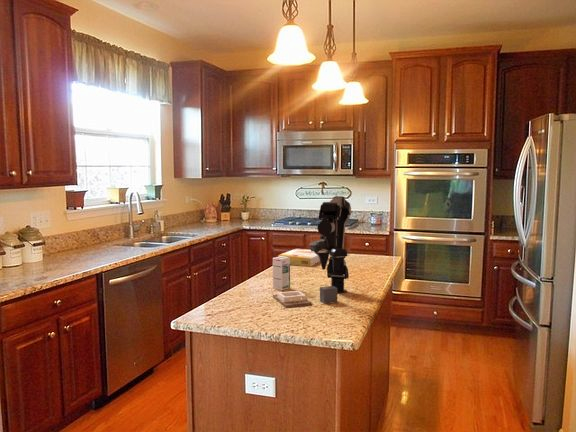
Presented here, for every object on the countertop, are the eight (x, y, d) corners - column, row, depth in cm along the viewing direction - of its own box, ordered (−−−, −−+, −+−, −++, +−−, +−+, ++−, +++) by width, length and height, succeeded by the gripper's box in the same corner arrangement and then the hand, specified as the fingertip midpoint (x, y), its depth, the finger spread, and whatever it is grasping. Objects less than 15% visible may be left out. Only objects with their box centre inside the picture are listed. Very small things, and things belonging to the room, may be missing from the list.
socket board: (272, 297, 198) (272, 290, 198) (296, 295, 202) (296, 288, 202) (285, 307, 183) (285, 300, 183) (311, 305, 187) (311, 297, 187)
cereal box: (277, 254, 268) (295, 247, 294) (277, 264, 269) (295, 256, 295) (310, 258, 261) (326, 250, 287) (310, 267, 261) (325, 259, 287)
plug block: (319, 301, 193) (320, 287, 192) (333, 299, 195) (333, 285, 194) (323, 303, 189) (324, 289, 188) (337, 302, 191) (337, 288, 190)
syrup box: (281, 290, 209) (281, 258, 208) (272, 288, 213) (272, 257, 212) (290, 288, 213) (290, 257, 212) (281, 286, 217) (281, 255, 216)
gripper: (301, 231, 194) (301, 268, 195) (323, 236, 177) (322, 276, 178) (325, 230, 198) (324, 267, 199) (348, 235, 181) (347, 274, 182)
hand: (329, 271), depth 189 cm, fingers open, 9 cm apart
